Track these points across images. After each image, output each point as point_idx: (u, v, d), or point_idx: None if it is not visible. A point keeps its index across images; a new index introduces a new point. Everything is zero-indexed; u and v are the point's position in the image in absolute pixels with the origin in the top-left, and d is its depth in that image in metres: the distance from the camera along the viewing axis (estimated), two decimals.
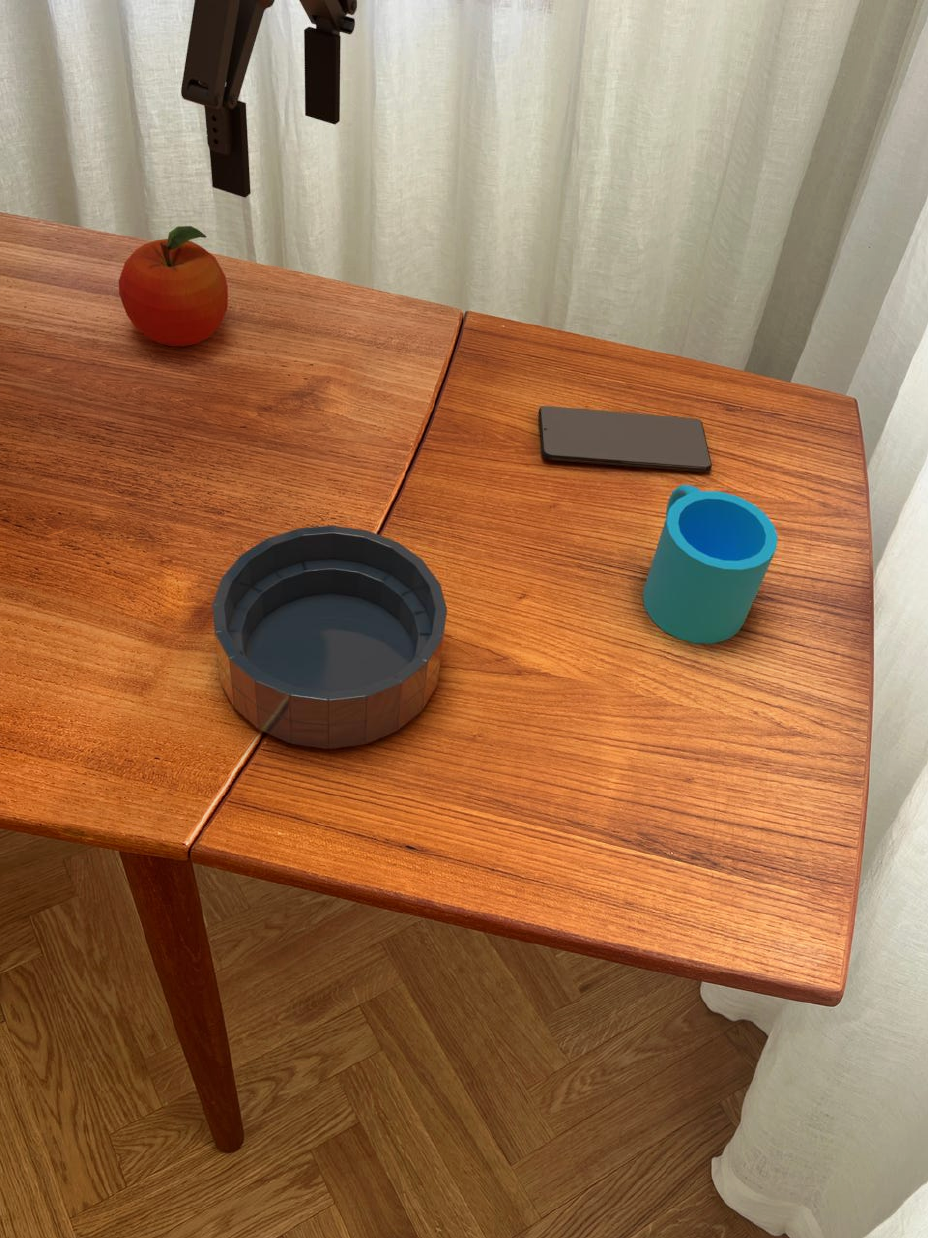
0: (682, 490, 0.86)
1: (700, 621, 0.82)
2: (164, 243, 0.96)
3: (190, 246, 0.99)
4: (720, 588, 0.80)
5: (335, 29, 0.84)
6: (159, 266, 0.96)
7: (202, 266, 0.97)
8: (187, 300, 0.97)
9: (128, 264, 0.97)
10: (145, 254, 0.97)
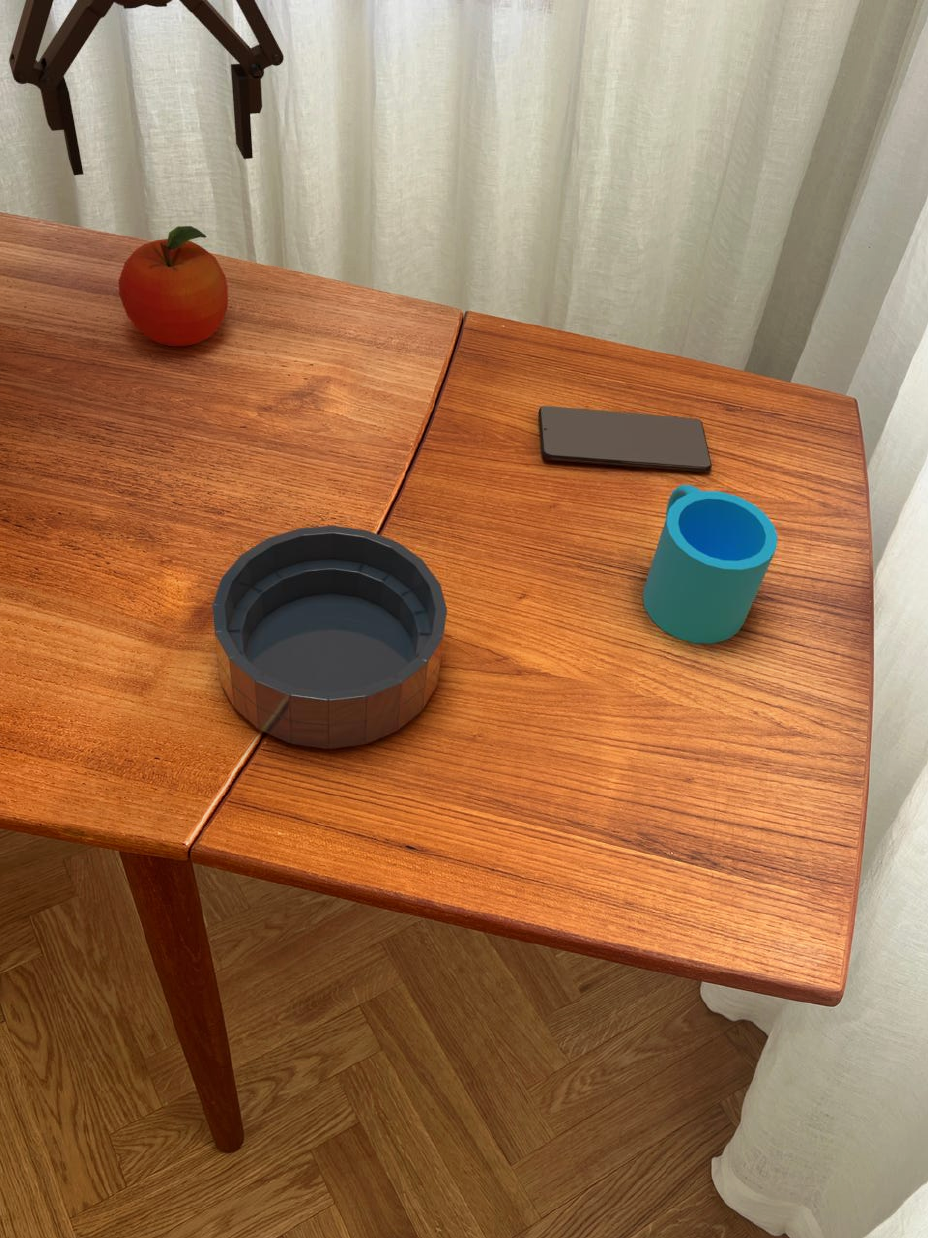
0: (682, 490, 0.86)
1: (700, 621, 0.82)
2: (164, 243, 0.96)
3: (190, 246, 0.99)
4: (720, 588, 0.80)
5: (248, 71, 0.87)
6: (159, 266, 0.96)
7: (202, 266, 0.97)
8: (187, 300, 0.97)
9: (128, 264, 0.97)
10: (145, 254, 0.97)
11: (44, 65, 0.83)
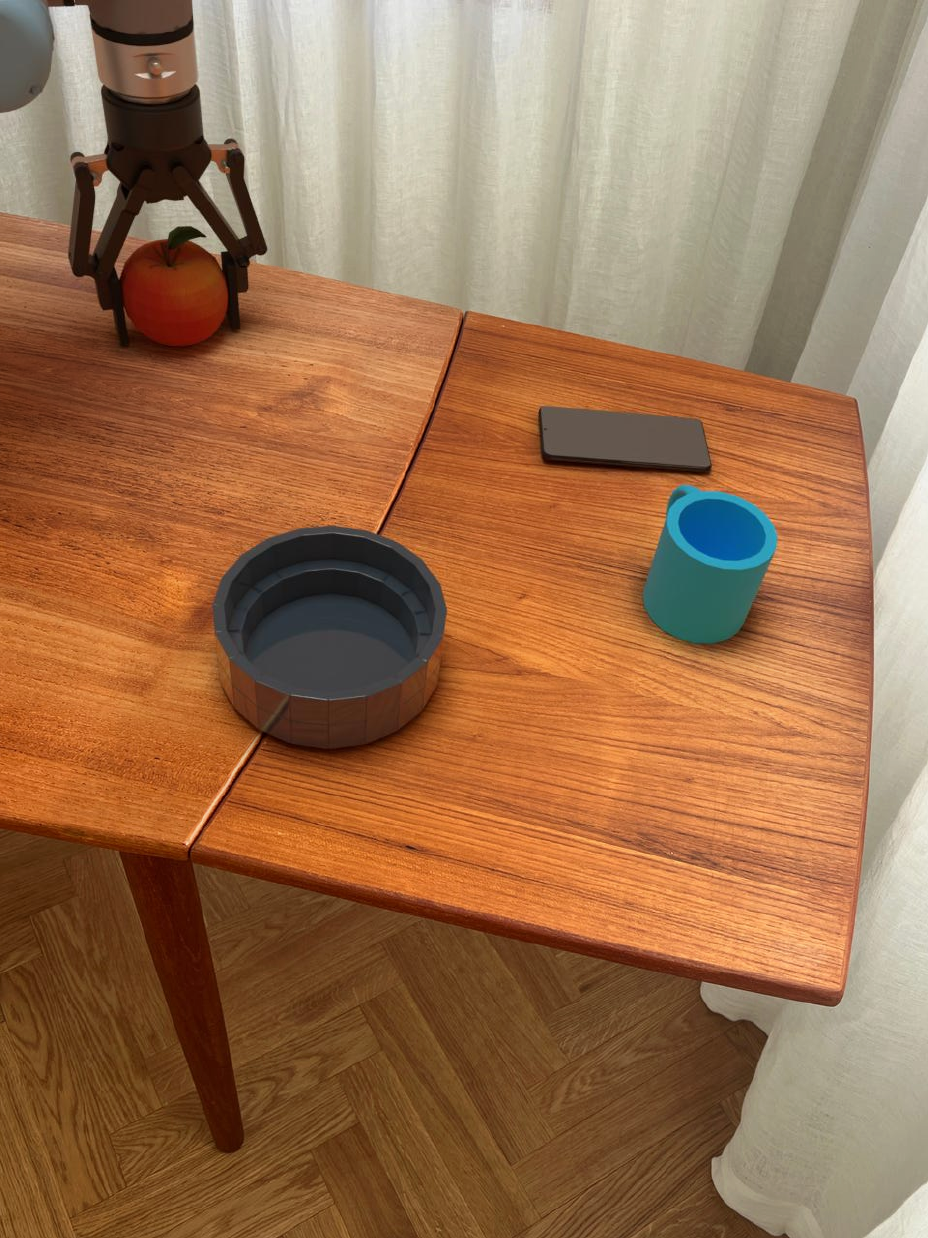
0: (682, 490, 0.86)
1: (700, 621, 0.82)
2: (164, 243, 0.96)
3: (190, 246, 0.99)
4: (719, 588, 0.80)
5: (234, 260, 0.99)
6: (159, 266, 0.96)
7: (202, 266, 0.97)
8: (187, 300, 0.97)
9: (128, 264, 0.97)
10: (145, 254, 0.97)
11: None
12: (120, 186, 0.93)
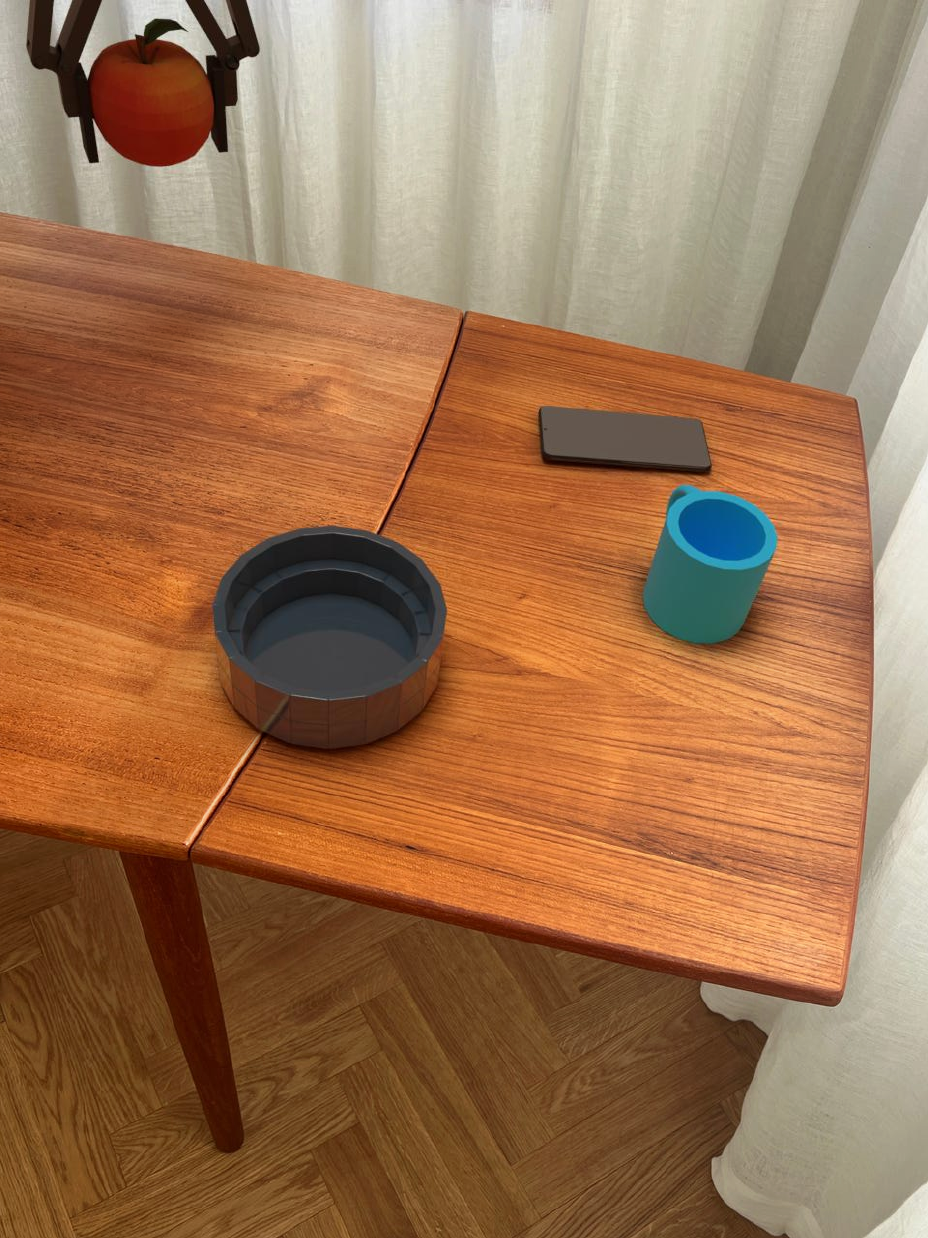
0: (682, 490, 0.86)
1: (700, 621, 0.82)
2: (139, 35, 0.83)
3: (170, 45, 0.85)
4: (719, 588, 0.80)
5: (222, 62, 0.85)
6: (134, 62, 0.83)
7: (183, 64, 0.84)
8: (166, 102, 0.83)
9: (97, 60, 0.83)
10: (118, 50, 0.83)
11: (62, 51, 0.82)
12: None
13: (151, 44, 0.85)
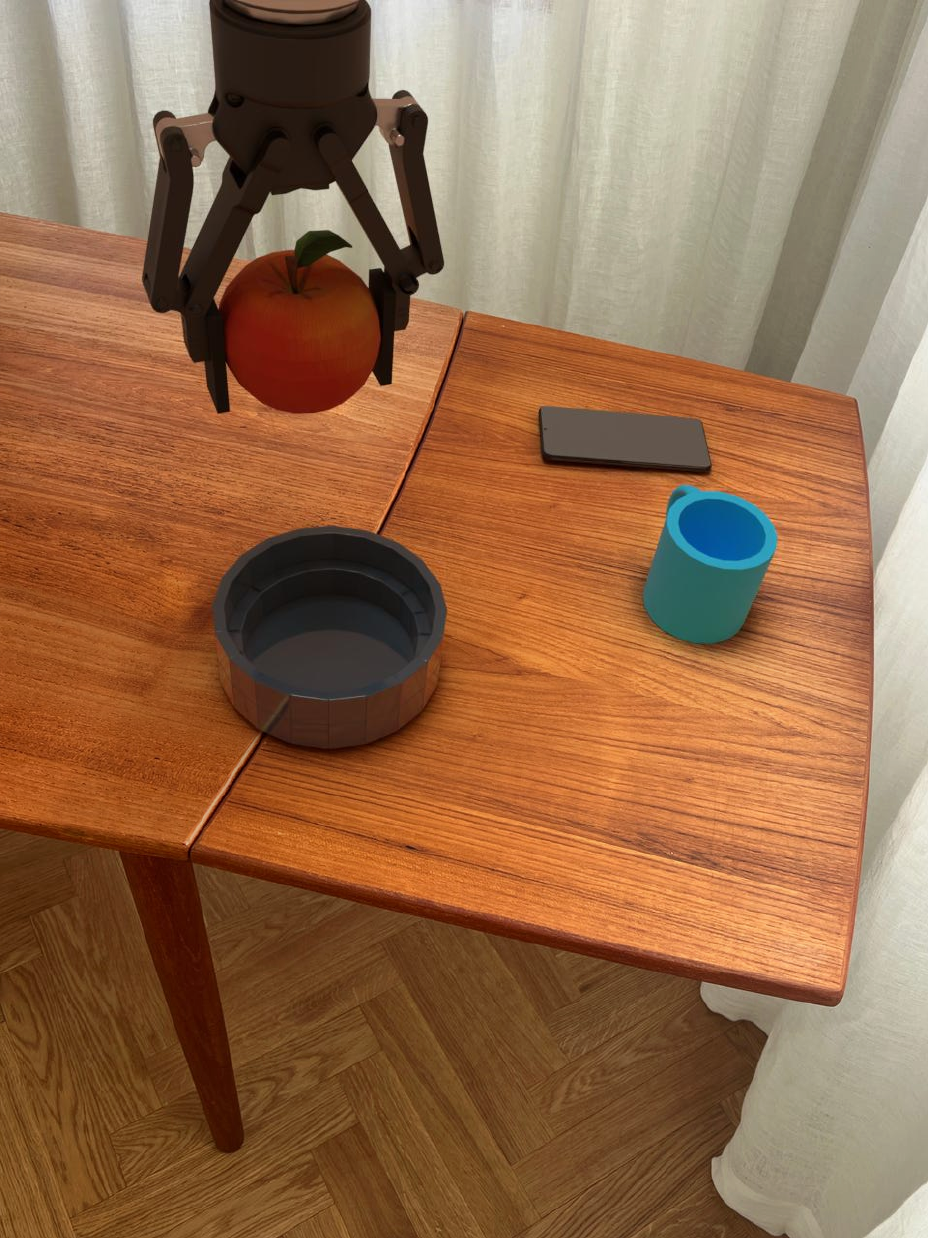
0: (682, 490, 0.86)
1: (700, 621, 0.82)
2: (290, 257, 0.62)
3: (326, 261, 0.64)
4: (720, 588, 0.80)
5: (394, 282, 0.64)
6: (284, 294, 0.62)
7: (348, 292, 0.63)
8: (328, 346, 0.62)
9: (234, 291, 0.62)
10: (260, 275, 0.62)
11: (189, 284, 0.61)
12: (229, 168, 0.58)
13: None
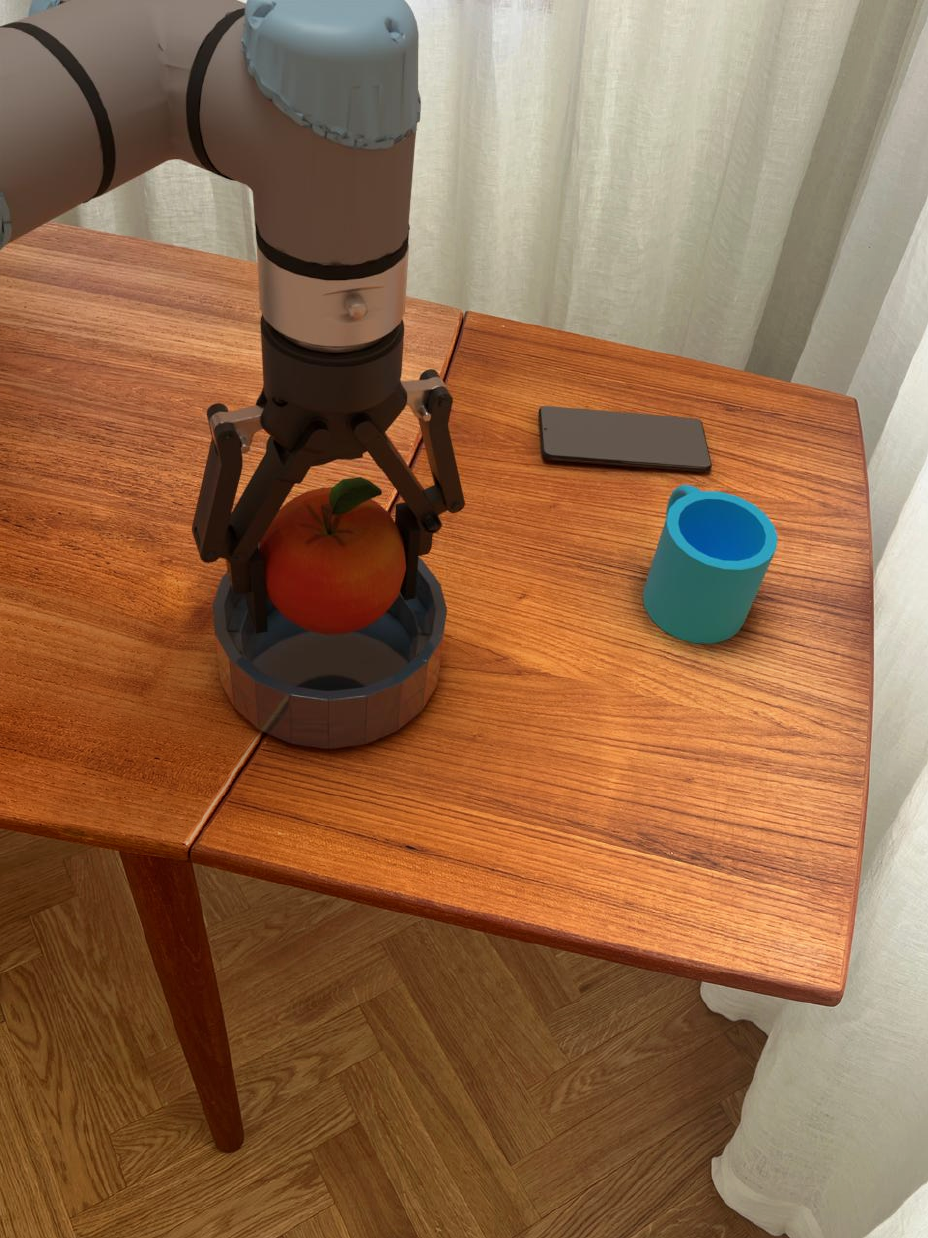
0: (682, 490, 0.86)
1: (700, 621, 0.82)
2: (326, 506, 0.68)
3: None
4: (720, 588, 0.80)
5: (419, 520, 0.71)
6: (320, 539, 0.68)
7: (378, 536, 0.69)
8: (359, 587, 0.68)
9: (274, 535, 0.68)
10: (298, 520, 0.69)
11: (234, 532, 0.67)
12: (273, 441, 0.64)
13: None
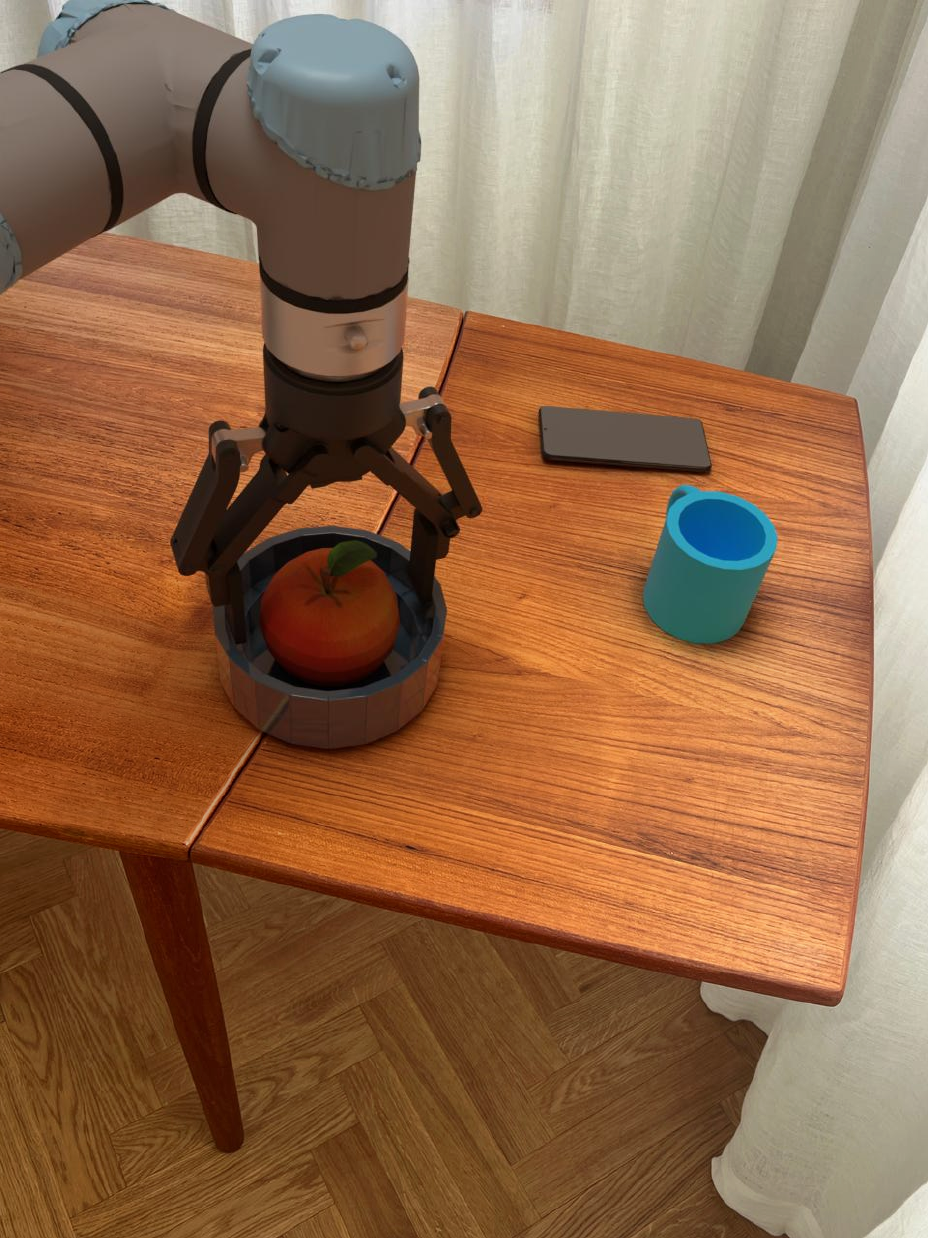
0: (682, 490, 0.86)
1: (700, 621, 0.82)
2: (324, 569, 0.72)
3: None
4: (720, 588, 0.80)
5: None
6: (318, 600, 0.72)
7: (373, 596, 0.73)
8: (355, 645, 0.72)
9: (275, 595, 0.73)
10: (298, 581, 0.73)
11: (212, 545, 0.67)
12: (268, 460, 0.65)
13: None
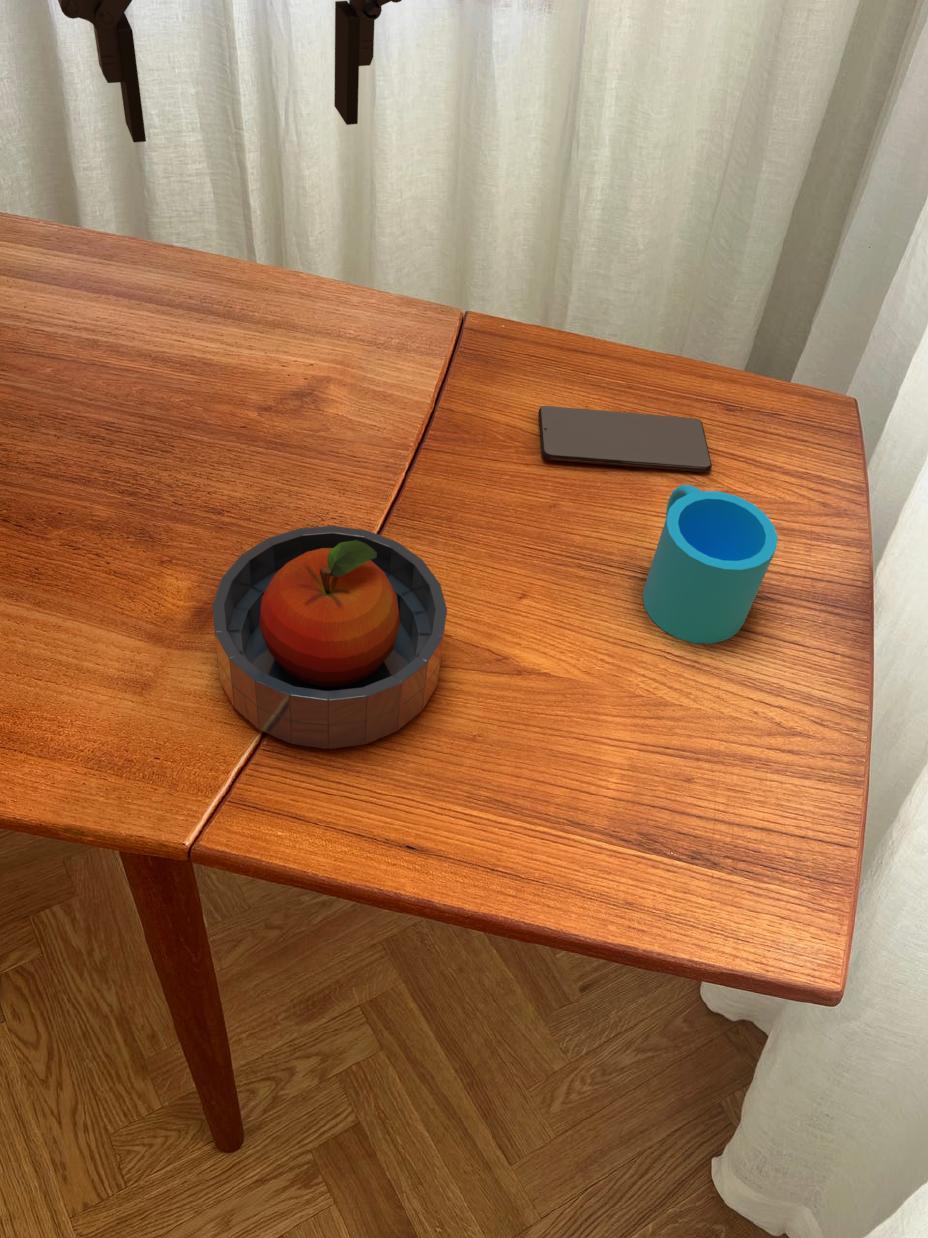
0: (682, 490, 0.86)
1: (700, 621, 0.82)
2: (324, 569, 0.72)
3: None
4: (719, 588, 0.80)
5: (359, 10, 0.68)
6: (318, 600, 0.72)
7: (373, 596, 0.73)
8: (355, 645, 0.72)
9: (275, 595, 0.73)
10: (298, 581, 0.73)
11: None
12: None
13: None
